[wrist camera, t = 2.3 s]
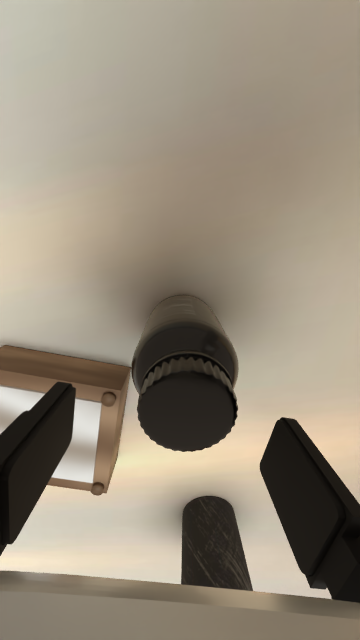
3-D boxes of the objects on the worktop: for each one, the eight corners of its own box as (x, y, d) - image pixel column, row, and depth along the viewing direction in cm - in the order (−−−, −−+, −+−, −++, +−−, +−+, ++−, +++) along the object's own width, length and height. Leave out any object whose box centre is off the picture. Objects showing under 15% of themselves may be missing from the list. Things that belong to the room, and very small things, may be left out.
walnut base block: (5, 345, 22) (-38, 367, 18) (130, 367, 23) (119, 394, 18) (9, 442, 26) (-25, 480, 21) (117, 458, 26) (104, 498, 22)
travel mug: (172, 502, 29) (157, 999, 10) (227, 488, 28) (329, 1000, 9) (191, 537, 31) (209, 1000, 12) (242, 525, 30) (351, 1000, 11)
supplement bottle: (140, 347, 22) (97, 448, 10) (160, 284, 20) (133, 323, 9) (202, 366, 23) (226, 482, 11) (227, 307, 21) (286, 372, 9)
